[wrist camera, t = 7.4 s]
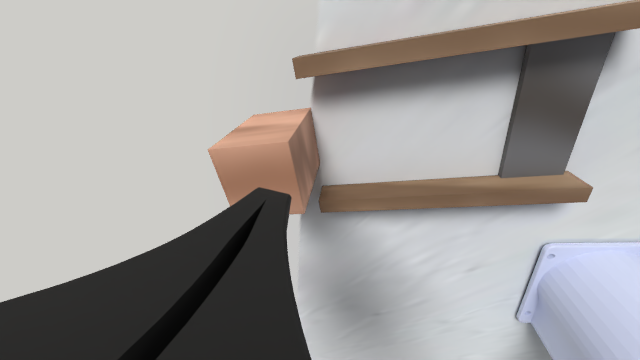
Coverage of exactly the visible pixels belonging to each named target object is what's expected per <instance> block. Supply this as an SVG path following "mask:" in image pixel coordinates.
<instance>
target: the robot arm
mask: <svg viewBox="0 0 640 360" xmlns="http://www.w3.org/2000/svg"><path fill="white" fill-rule="evenodd" d="M291 199H292V197H291V196H290V194H287V193H282V192H278V191H274V190H269V189H265V188H261V187H258V188H256V189H255V190H253V191H252V192H250V193H249V194H248V195H246V196H245V197H243V198H242V199H240V200H239V201H238V202H236V203H235V204H233V205H232V206H230V207H229V208H227V209H226V210H224V211H222V212H221V213H219V214H218V215H216V216H215V217H213V218H211V219H210V220H208V221H206V222H205V223H203V224H201V225H200V226H198V227H196V228H194V229H193V230H191V231H189V232H187V233H185V234H184V235H182V236H180V237H178V238H176V239H174V240H172V241H170V242H168V243H165V244H163V245H161V246H159V247H157V248H155V249H152V250H150V251H147V252H145V253H143V254H141V255H138V256H136V257H133V258H131V259H128V260H126V261H124V262H121V263H119V264H116V265H114V266H111V267H108V268H105V269H103V270H100V271H97V272H95V273H92V274H89V275H86V276H83V277H80V278H77V279H74V280H72V281H69V282H66V283H63V284H60V285H56V286H53V287H50V288H47V289H44V290H40V291H37V292H34V293H30V294H27V295H24V296H20V297H17V298H14V299H10V300H7V301H4V302H1V303H0V360H311V357H310V354H309V350H308V347H307V344H306V340H305V337H304V333H303V329H302V326H301V322H300V318H299V313H298V309H297V305H296V301H295V297H294V292H293V286H292V281H291V276H290V269H289V262H288V251H287V232H286V231H287V225H288V218H289V212H290V205H291ZM517 319H518V321H519V322H522V323H531V324H532V326H533V327H534V329H535V331H536V332H537V334H538V336H539V337H540V339H541V341H542V342H543V344H544V346H545V348H546V349H547V351H548V353H549V354H550V356H551V358H552V359H553V360H640V242H619V243H550V244H546V245H545V246H544V247H543V248H542V250H541V253H540V256H539V258H538V261H537V264H536V266H535V269H534V271H533V274H532V277H531V279H530V282H529V285H528V287H527V290H526V292H525V295H524V298H523V300H522V303H521V306H520V308H519V311H518V313H517Z"/></svg>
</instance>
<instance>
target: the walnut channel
mask: <svg viewBox="0 0 640 360" xmlns="http://www.w3.org/2000/svg"><path fill="white" fill-rule="evenodd" d="M637 28H640V0H633V1H627V2H621V3H615V4H609V5H603V6H597V7H591V8H585V9H579V10H573V11H567V12H561V13H554V14H548V15H542V16H536V17H530V18H524V19H518V20H512V21H506V22H500V23H494V24H488V25H482V26H476V27H470V28H464V29H458V30H452V31H446V32H440V33H434V34H428V35H422V36H416V37H410V38H404V39H398V40H392V41H386V42H380V43H374V44H368V45H362V46H356V47H350V48H344V49H338V50H332V51H326V52H320V53H314V54H308V55H302V56H298V57H295V58H293V59H292V60H293V66H294V71H295V76H296V79H299V78H306V77H313V76H320V75H327V74H333V73H340V72H347V71H354V70H360V69H367V68H374V67H381V66H387V65H394V64H401V63H408V62H414V61H421V60H428V59H435V58H441V57H448V56H455V55H462V54H468V53H475V52H482V51H489V50H495V49H502V48H509V47H516V46H522V45H527V48H526V52H525V57H524V61H523V66H522V70H521V75H520V79H519V84H518V88H517V93H516V97H515V102H514V106H513V111H512V115H511V120H510V124H509V129H508V133H507V138H506V142H505V147H504V151H503V156H502V160H501V165H500V169H499V174H498V175H495V176H479V177H462V178H446V179H429V180H413V181H396V182H380V183H363V184H347V185H330V186H322V190H321V194H320V198H319V205H320V210H321V212H346V211H372V210H397V209H422V208H448V207H473V206H498V205H523V204H549V203H574V202H587V201H588V198H589V196H590V194H591V192H592V189H593V187H592V186H590V185H589V184H587V183H585V182H584V181H582V180H581V179H579V178H578V177H576V176H575V175H573V174H572V173H570V172H569V171H565V169H566V166H567V163H568V161H569V158H570V155H571V152H572V150H573V147H574V144H575V142H576V139H577V136H578V133H579V131H580V128H581V125H582V122H583V120H584V117H585V114H586V111H587V109H588V106H589V103H590V100H591V98H592V95H593V92H594V90H595V87H596V84H597V81H598V79H599V76H600V73H601V70H602V68H603V65H604V62H605V59H606V57H607V54H608V51H609V48H610V46H611V43H612V40H613V38H614V35H615V32H617V31H624V30H630V29H637Z"/></svg>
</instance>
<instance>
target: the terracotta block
mask: <svg viewBox="0 0 640 360" xmlns="http://www.w3.org/2000/svg"><path fill="white" fill-rule="evenodd" d="M208 152H209V154H210V157H211V159H212V162H213V164H214V167H215V169H216V172H217V174H218V177H219V179H220V182H221V184H222V187H223V189H224V192H225V194H226V197H227V199H228V202H229V204H230V206H232V205H233V204H235V203H236V202H238V201H239V200H240V199H242V198H243V197H245V196H246V195H248V194H249V193H250V192H252V191H253V190H255V189H256V188H258V187H261V188H265V189H269V190H274V191H278V192H282V193H287V194H290V196H291V197H292V199H291V205H290V212H289V214H305V210H306V207H307V204H308V201H309V197H310V194H311V191H312V188H313V184H314V181H315V178H316V175H317V171H318V168H319V165H320V160H319V154H318V148H317V142H316V136H315V131H314V125H313V119H312V113H311V108H305V109H297V110H289V111H281V112H273V113H265V114H257V115H253V116H252V117H250V118H249V119H248V120H246V121H245V122H244V123H242V124H241V125H240V126H238V127H237V128H236V129H234V130H233V131H232V132H230V133H229V134H228V135H226V136H225V137H224V138H222V139H221V140H220V141H219V142H217V143H216V144H215V145H213V146H212V147H211V148H209V149H208Z"/></svg>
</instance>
